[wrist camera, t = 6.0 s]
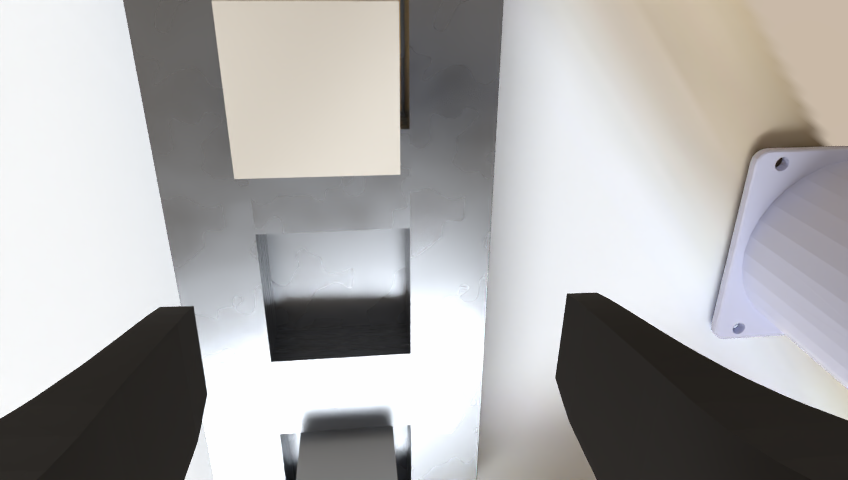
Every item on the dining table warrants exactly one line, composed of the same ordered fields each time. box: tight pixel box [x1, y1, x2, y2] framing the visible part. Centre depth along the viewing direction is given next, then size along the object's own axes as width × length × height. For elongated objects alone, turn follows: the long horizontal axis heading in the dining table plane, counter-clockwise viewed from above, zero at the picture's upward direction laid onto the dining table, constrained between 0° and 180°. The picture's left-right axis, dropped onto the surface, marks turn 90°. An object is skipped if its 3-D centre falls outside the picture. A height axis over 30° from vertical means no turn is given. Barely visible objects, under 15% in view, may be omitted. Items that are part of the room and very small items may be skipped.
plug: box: [212, 0, 400, 179], centre depth 15 cm, size 4×4×7 cm
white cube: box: [296, 426, 398, 480], centre depth 24 cm, size 4×4×4 cm
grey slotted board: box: [123, 0, 503, 480], centre depth 21 cm, size 10×24×2 cm, turn 0°
